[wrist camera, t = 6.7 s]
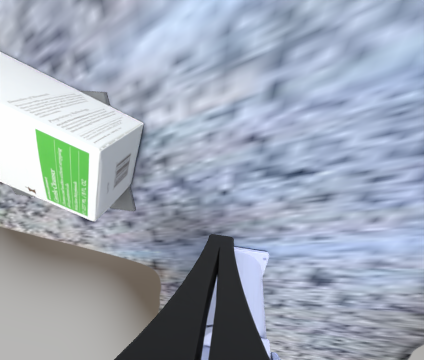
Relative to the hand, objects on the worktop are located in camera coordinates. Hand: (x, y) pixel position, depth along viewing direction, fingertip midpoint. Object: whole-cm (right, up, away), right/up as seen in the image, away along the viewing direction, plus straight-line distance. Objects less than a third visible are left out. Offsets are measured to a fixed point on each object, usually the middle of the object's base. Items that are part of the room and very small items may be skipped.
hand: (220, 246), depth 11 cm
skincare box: (-8, +5, +5) cm, 11 cm away
